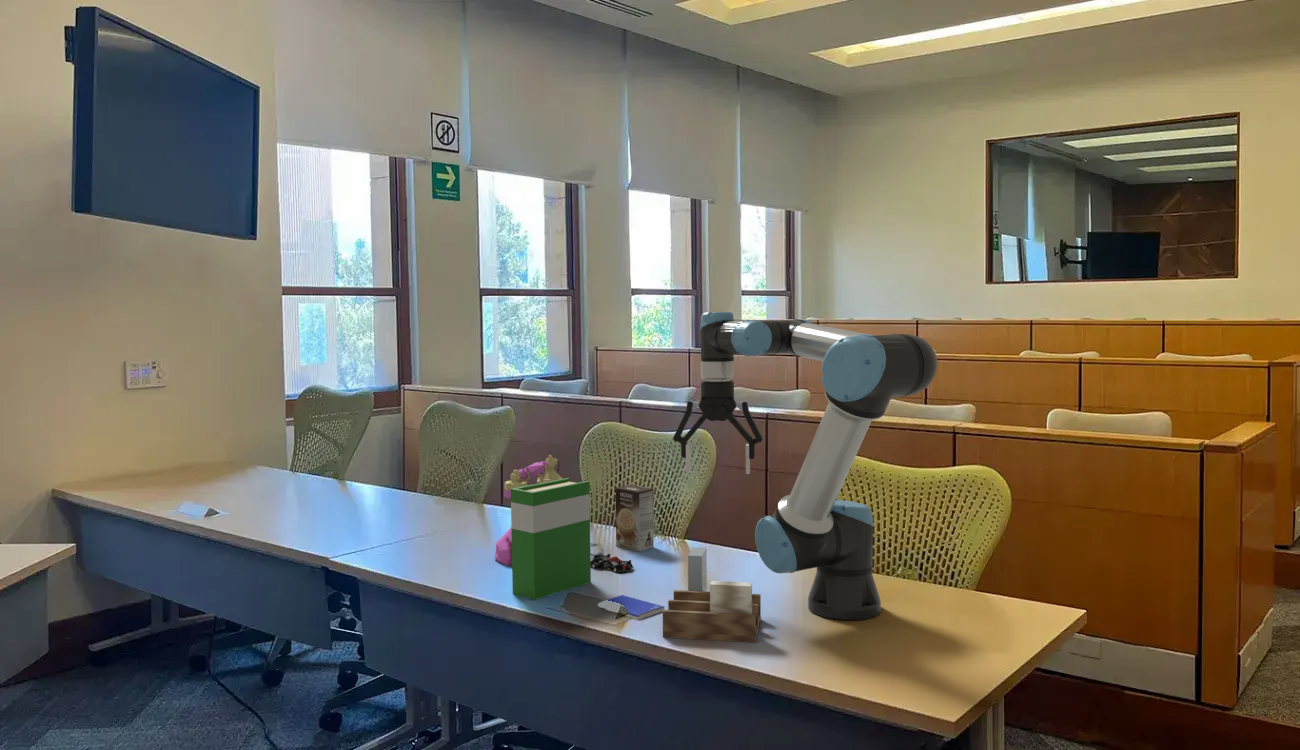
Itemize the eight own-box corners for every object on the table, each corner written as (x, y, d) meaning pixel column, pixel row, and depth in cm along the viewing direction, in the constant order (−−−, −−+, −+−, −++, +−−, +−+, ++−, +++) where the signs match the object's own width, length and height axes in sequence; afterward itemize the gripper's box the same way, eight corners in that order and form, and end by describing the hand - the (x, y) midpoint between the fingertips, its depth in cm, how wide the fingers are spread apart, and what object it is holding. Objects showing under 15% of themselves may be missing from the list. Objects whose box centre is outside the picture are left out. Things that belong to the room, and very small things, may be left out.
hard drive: (664, 605, 201) (623, 594, 210) (637, 614, 195) (596, 602, 204) (664, 612, 201) (623, 601, 210) (638, 622, 195) (596, 609, 204)
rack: (760, 619, 195) (760, 570, 194) (755, 642, 181) (754, 590, 181) (674, 614, 199) (674, 566, 198) (662, 637, 185) (662, 585, 184)
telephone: (549, 572, 231) (548, 471, 229) (468, 565, 238) (466, 467, 236) (603, 538, 264) (602, 450, 263) (530, 533, 272) (529, 447, 270)
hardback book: (568, 576, 227) (567, 477, 226) (590, 582, 223) (589, 481, 221) (512, 593, 214) (510, 488, 213) (534, 600, 209) (532, 492, 208)
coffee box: (614, 546, 256) (613, 487, 255) (630, 541, 261) (630, 484, 260) (638, 551, 250) (638, 491, 249) (655, 547, 255) (654, 488, 254)
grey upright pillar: (706, 601, 207) (706, 547, 206) (702, 611, 200) (702, 556, 199) (693, 601, 208) (692, 547, 207) (688, 611, 201) (688, 555, 200)
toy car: (601, 563, 240) (601, 547, 240) (639, 570, 233) (639, 554, 233) (586, 568, 235) (586, 552, 235) (624, 576, 228) (624, 559, 228)
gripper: (773, 378, 216) (773, 470, 217) (665, 378, 220) (666, 468, 222) (772, 381, 208) (772, 476, 210) (660, 380, 213) (661, 474, 214)
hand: (717, 472), depth 216 cm, fingers open, 13 cm apart
